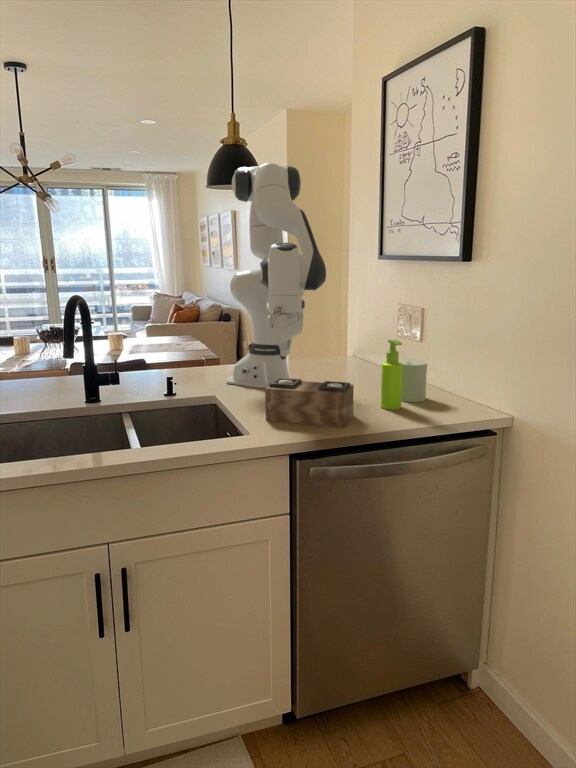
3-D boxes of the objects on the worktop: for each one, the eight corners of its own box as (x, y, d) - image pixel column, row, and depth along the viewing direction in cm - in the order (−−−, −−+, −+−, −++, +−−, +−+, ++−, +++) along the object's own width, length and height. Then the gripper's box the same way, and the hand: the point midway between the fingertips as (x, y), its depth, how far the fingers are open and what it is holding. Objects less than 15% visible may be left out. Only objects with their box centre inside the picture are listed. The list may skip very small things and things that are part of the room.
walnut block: (265, 420, 155) (265, 384, 152) (279, 409, 165) (279, 376, 162) (343, 427, 147) (344, 390, 145) (353, 415, 158) (353, 381, 155)
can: (390, 399, 174) (392, 361, 171) (402, 393, 181) (403, 356, 178) (419, 403, 169) (421, 364, 166) (430, 397, 176) (432, 359, 173)
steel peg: (325, 414, 152) (325, 386, 150) (329, 410, 156) (329, 382, 154) (339, 415, 151) (339, 387, 149) (343, 411, 155) (343, 383, 153)
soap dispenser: (387, 411, 161) (390, 342, 156) (377, 405, 168) (379, 339, 163) (406, 409, 163) (408, 341, 158) (395, 403, 169) (397, 338, 165)
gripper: (282, 310, 141) (283, 364, 144) (307, 301, 159) (306, 348, 163) (259, 309, 143) (260, 362, 146) (286, 300, 161) (286, 347, 165)
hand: (285, 355), depth 155 cm, fingers closed
